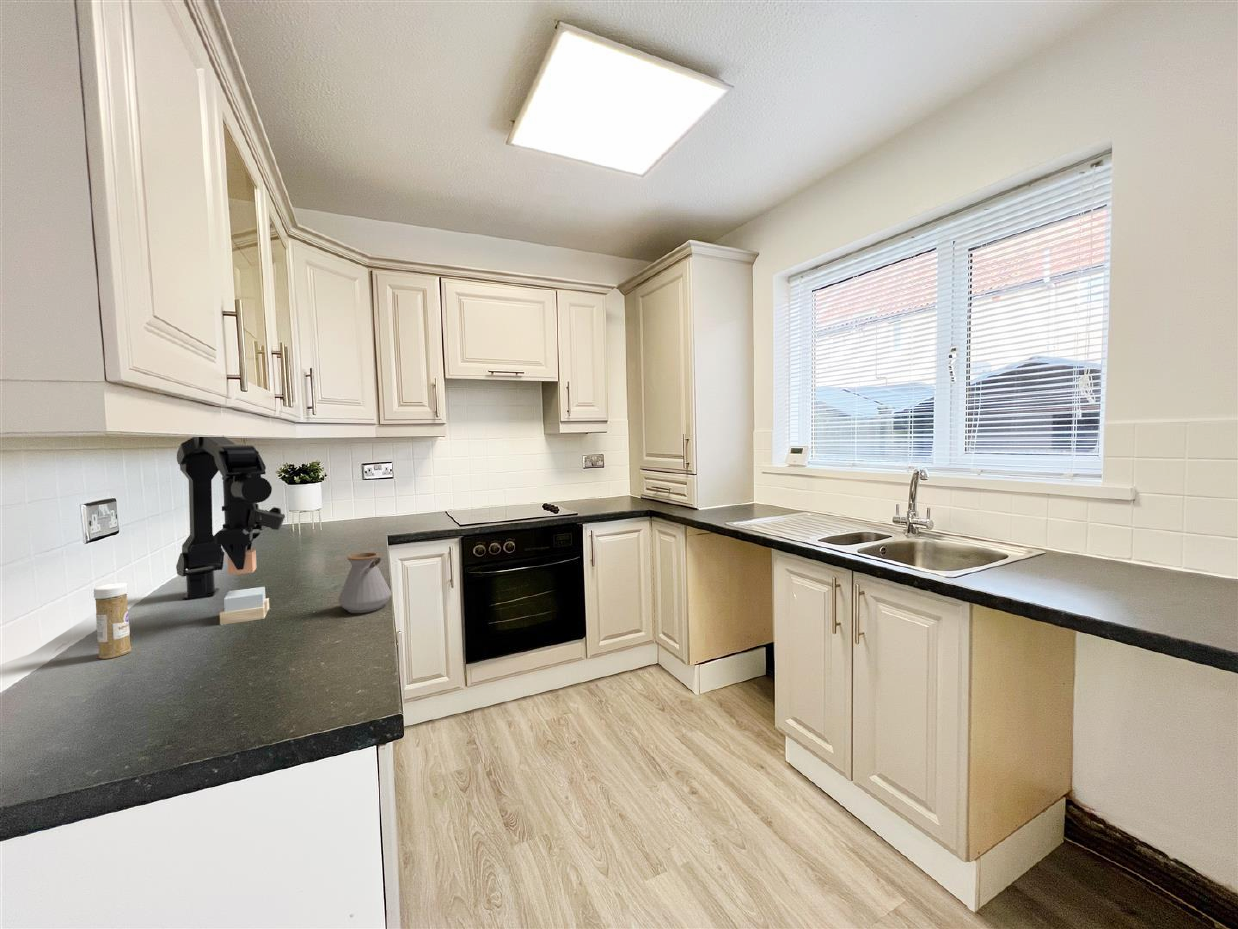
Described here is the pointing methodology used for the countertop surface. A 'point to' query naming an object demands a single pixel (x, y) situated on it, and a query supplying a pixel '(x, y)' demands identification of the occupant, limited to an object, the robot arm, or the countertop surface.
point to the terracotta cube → (248, 565)
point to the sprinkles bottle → (112, 620)
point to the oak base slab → (244, 614)
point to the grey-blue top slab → (244, 599)
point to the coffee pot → (364, 585)
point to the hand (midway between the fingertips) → (242, 567)
